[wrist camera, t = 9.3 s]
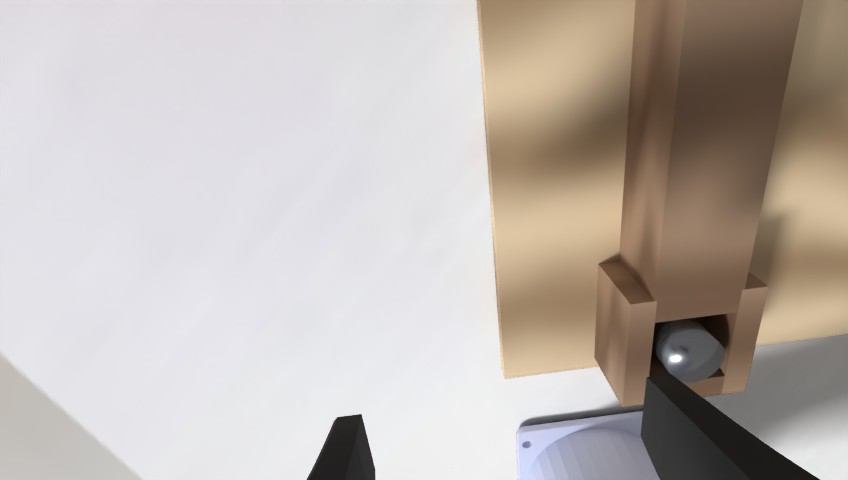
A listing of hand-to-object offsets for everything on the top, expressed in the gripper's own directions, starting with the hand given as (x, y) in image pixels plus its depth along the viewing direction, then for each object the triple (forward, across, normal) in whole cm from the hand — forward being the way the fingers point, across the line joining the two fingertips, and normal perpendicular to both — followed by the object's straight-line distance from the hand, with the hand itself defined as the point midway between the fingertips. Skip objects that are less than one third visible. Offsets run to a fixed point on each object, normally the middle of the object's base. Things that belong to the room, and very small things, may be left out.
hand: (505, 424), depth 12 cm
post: (+10, -8, +4) cm, 14 cm away
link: (+9, -9, -3) cm, 13 cm away
